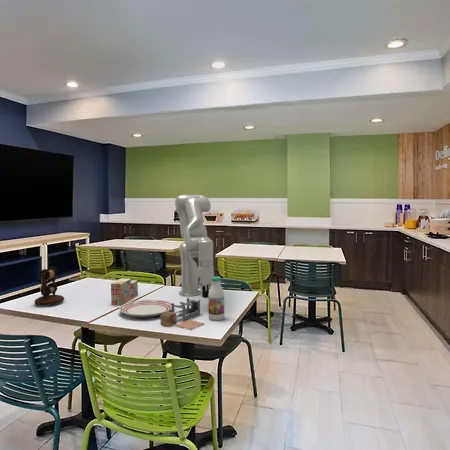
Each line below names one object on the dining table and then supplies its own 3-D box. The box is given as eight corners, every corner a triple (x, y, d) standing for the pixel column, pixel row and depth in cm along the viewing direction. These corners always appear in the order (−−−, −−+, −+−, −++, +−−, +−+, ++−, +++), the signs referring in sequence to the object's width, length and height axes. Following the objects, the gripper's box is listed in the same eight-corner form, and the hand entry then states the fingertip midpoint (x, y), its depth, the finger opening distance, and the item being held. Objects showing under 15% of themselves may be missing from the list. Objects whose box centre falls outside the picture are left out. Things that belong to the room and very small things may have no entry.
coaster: (188, 320, 169) (188, 319, 169) (203, 324, 164) (203, 323, 164) (175, 326, 162) (175, 324, 162) (190, 330, 157) (190, 328, 157)
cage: (188, 312, 182) (188, 297, 181) (200, 315, 177) (200, 300, 177) (171, 318, 172) (171, 303, 171) (184, 321, 167) (183, 306, 167)
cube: (168, 321, 168) (168, 311, 168) (176, 324, 165) (176, 313, 165) (160, 325, 164) (160, 314, 163) (168, 327, 161) (168, 316, 161)
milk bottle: (208, 315, 176) (207, 275, 175) (223, 315, 177) (223, 275, 175) (208, 321, 168) (208, 279, 167) (225, 320, 169) (224, 278, 168)
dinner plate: (140, 302, 201) (140, 296, 201) (183, 307, 191) (183, 301, 191) (107, 317, 175) (107, 310, 175) (155, 324, 165) (155, 317, 165)
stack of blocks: (128, 295, 216) (127, 274, 215) (138, 295, 215) (137, 275, 214) (111, 305, 195) (110, 283, 194) (122, 305, 194) (121, 283, 193)
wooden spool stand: (44, 299, 206) (42, 265, 205) (69, 300, 206) (67, 265, 204) (28, 307, 192) (27, 270, 190) (55, 307, 191) (54, 270, 189)
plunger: (192, 311, 182) (192, 299, 182) (200, 313, 179) (200, 301, 179) (168, 321, 168) (168, 308, 167) (176, 323, 165) (175, 310, 165)
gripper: (208, 259, 195) (208, 292, 197) (190, 264, 182) (190, 299, 184) (220, 261, 190) (219, 295, 192) (202, 266, 178) (202, 302, 180)
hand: (205, 297), depth 188 cm, fingers closed
